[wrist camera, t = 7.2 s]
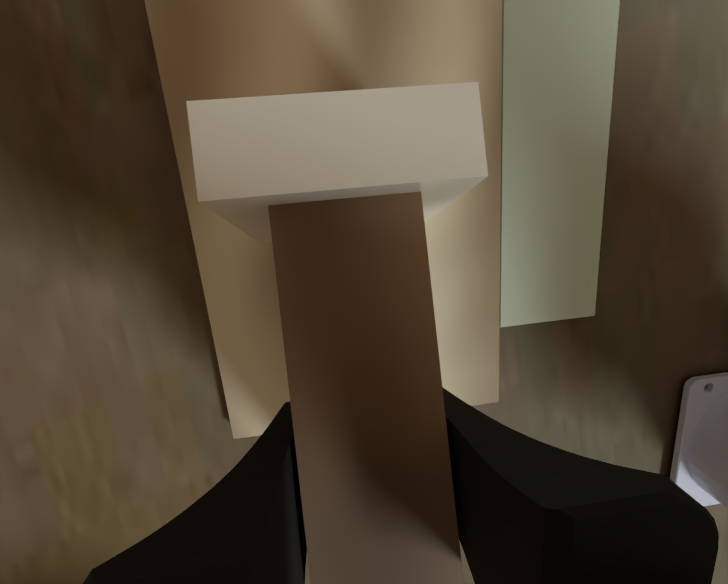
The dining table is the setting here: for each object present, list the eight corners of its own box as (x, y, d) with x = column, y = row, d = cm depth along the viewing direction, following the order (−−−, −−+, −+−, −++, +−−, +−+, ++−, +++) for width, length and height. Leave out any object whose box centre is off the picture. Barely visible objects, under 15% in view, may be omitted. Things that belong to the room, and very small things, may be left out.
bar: (384, 232, 15) (421, 191, 9) (415, 511, 15) (471, 658, 9) (294, 240, 14) (268, 205, 8) (326, 525, 15) (323, 688, 9)
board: (492, -23, 14) (502, -36, 13) (491, 393, 18) (498, 401, 18) (150, -9, 13) (140, -22, 12) (237, 428, 17) (233, 438, 16)
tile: (412, 171, 14) (477, 74, 8) (418, 227, 15) (488, 176, 8) (253, 185, 14) (185, 93, 8) (259, 243, 14) (197, 201, 8)
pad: (615, -44, 14) (623, -51, 14) (588, 312, 18) (594, 315, 17) (498, -40, 14) (504, -47, 13) (496, 324, 17) (500, 327, 17)
